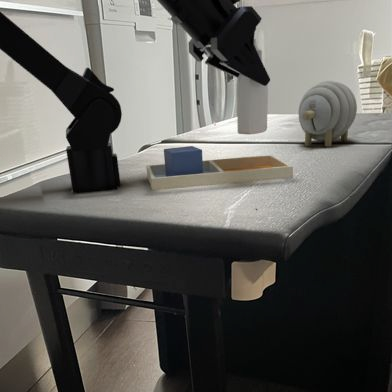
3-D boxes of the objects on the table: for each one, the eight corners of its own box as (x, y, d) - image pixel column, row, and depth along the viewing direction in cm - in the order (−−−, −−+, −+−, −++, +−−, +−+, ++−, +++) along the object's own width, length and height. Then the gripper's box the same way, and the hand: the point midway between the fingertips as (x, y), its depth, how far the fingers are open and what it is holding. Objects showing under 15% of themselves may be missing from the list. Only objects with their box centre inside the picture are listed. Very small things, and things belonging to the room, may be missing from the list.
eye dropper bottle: (228, 133, 81) (227, 40, 76) (260, 129, 84) (261, 39, 78) (244, 135, 78) (244, 39, 72) (276, 132, 80) (279, 37, 74)
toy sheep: (364, 138, 110) (369, 77, 105) (336, 151, 98) (340, 83, 93) (314, 137, 116) (317, 79, 110) (281, 150, 103) (282, 85, 98)
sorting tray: (152, 194, 76) (151, 178, 75) (147, 179, 85) (146, 165, 84) (292, 181, 78) (293, 166, 77) (272, 168, 88) (272, 154, 87)
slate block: (174, 185, 77) (171, 152, 75) (166, 180, 81) (163, 149, 79) (203, 181, 78) (202, 149, 76) (194, 176, 82) (192, 145, 80)
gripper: (244, -79, 61) (330, 31, 68) (207, -49, 77) (279, 38, 84) (179, 6, 63) (268, 104, 70) (156, 18, 80) (230, 97, 87)
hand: (262, 82), depth 78 cm, fingers closed on eye dropper bottle, 5 cm apart
